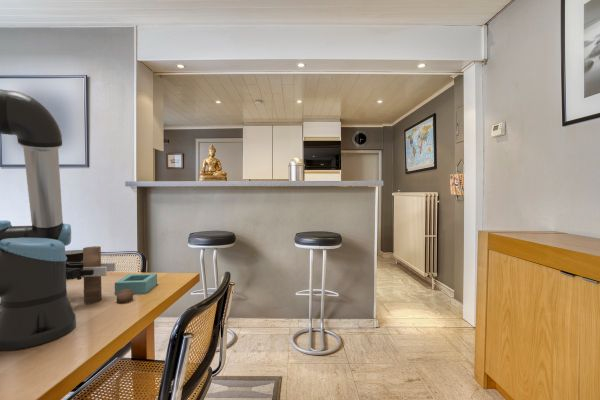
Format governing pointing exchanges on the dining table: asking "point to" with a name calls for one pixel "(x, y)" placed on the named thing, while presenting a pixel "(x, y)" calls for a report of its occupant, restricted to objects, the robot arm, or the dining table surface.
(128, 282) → the hole block
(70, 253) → the coffee mug
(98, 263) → the long pin
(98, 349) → the dining table surface
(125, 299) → the brown rounded block
